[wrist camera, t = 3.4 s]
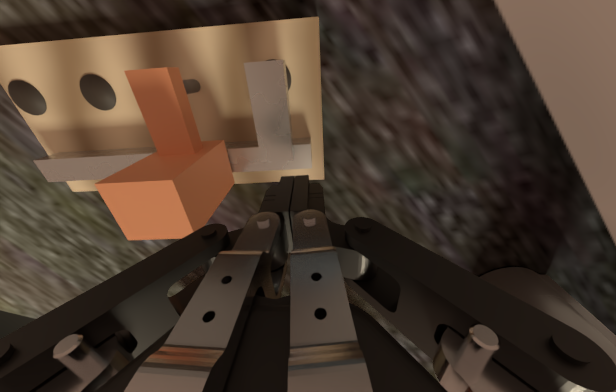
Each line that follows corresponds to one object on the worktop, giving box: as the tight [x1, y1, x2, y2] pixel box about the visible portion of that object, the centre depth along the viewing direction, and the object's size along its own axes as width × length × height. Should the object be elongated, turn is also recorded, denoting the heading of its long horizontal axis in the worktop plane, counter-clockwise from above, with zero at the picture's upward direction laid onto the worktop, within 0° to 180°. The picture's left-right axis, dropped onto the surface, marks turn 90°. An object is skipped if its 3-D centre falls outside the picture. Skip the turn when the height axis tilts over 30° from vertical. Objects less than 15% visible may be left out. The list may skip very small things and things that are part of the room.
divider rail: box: [33, 60, 312, 182], centre depth 17 cm, size 23×8×3 cm, turn 94°
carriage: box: [94, 67, 235, 240], centre depth 14 cm, size 4×8×9 cm, turn 4°
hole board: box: [0, 17, 324, 192], centre depth 19 cm, size 25×12×1 cm, turn 94°
